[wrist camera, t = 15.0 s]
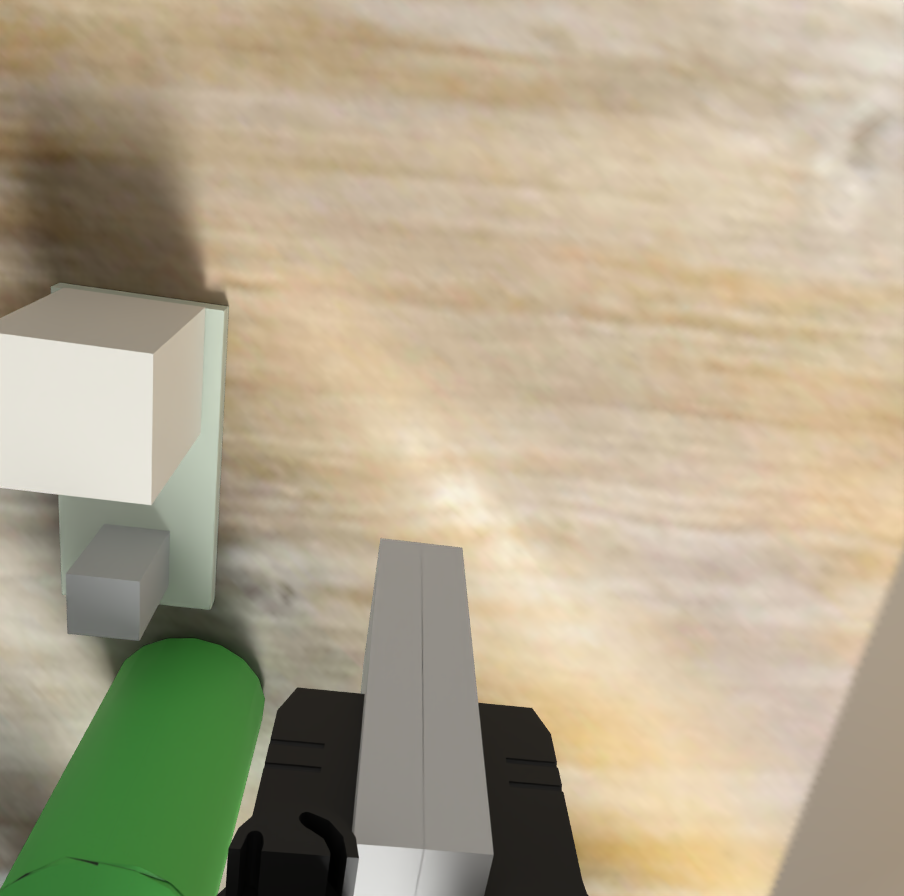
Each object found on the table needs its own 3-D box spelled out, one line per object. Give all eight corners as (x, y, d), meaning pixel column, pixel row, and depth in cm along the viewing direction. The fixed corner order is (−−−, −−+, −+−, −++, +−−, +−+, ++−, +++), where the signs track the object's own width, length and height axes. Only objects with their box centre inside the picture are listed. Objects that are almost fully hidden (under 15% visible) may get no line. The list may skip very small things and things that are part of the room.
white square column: (67, 416, 39) (-14, 486, 32) (64, 287, 37) (-25, 329, 29) (200, 433, 40) (151, 505, 32) (205, 307, 37) (153, 354, 30)
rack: (69, 584, 45) (19, 650, 39) (59, 282, 38) (-2, 310, 33) (214, 600, 45) (186, 667, 40) (228, 306, 39) (197, 337, 33)
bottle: (87, 667, 47) (-236, 1204, 24) (210, 604, 45) (-4, 1106, 22) (177, 767, 50) (-29, 1327, 27) (295, 710, 49) (185, 1247, 25)
